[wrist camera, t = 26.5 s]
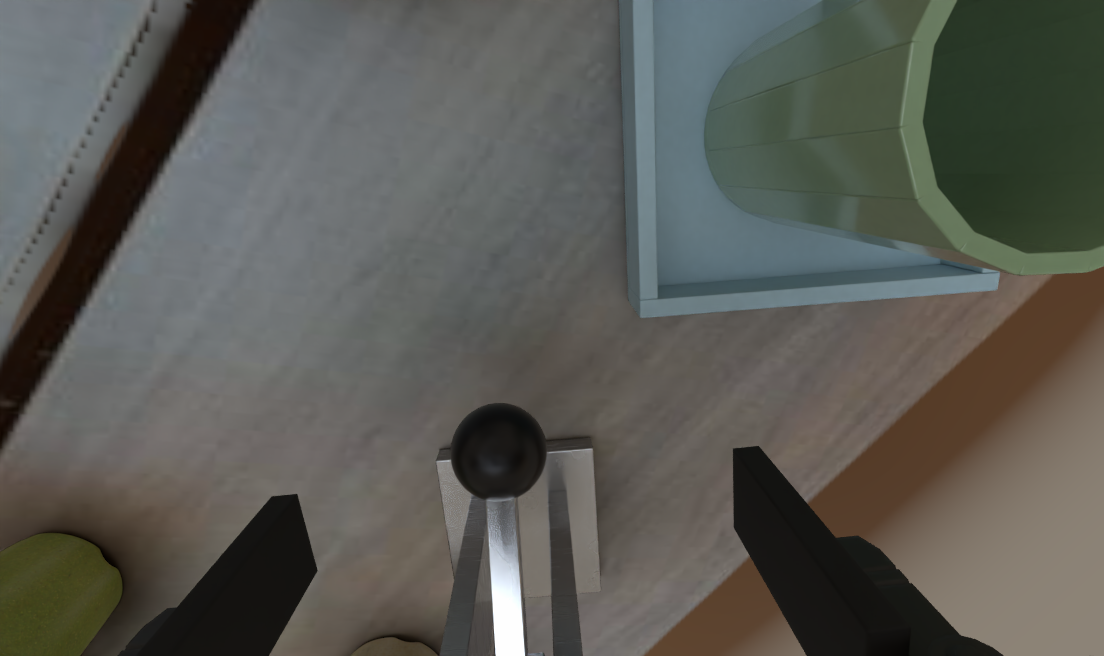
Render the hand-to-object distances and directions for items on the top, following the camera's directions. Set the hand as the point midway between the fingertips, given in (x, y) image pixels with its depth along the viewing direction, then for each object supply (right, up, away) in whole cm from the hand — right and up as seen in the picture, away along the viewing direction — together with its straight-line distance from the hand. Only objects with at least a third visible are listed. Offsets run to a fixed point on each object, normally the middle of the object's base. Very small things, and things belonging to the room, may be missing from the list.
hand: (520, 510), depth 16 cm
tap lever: (-1, -4, +5) cm, 6 cm away
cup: (+12, +14, +7) cm, 20 cm away
